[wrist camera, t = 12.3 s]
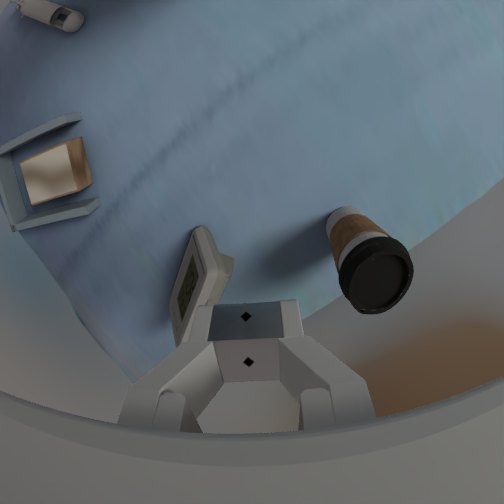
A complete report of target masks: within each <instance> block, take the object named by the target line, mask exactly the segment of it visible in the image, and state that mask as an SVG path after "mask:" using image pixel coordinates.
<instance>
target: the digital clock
mask: <svg viewBox="0 0 504 504" xmlns="http://www.w3.org/2000/svg"><path fill="white" fill-rule="evenodd" d="M233 263H234V259H233V258H232V257H229V256H227V255H224V254H221V253H219V252H218V249H217V247H216V244H215V241H214V239H213V236H212V234H211V232H210V231H209V230H208V229H207V228H206V227H205V226H199V227H198V228H196V229H194V230H193V232H192V235H191V238H190V241H189V243H188V246H187V249H186V252H185V255H184V258H183V261H182V264H181V267H180V270H179V273H178V276H177V279H176V282H175V285H174V288H173V291H172V294H171V298H170V301H169V310H170V316H171V322H172V328H173V334H174V339H175V344H176V348H177V347H178V346H179V345H180V344H182V343H183V342H188V340H189V336H190V332H191V328H192V324H193V320H194V316H195V312H196V308H197V307H198V306H199V305H215V304H218V303H219V300H220V298H221V296H222V294H223V292H224V289H225V287H226V285H227V283H228V281H229V279H230V276H231V274H232V271H233Z"/></svg>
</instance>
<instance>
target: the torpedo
mask: <svg viewBox="0 0 504 504" xmlns="http://www.w3.org/2000/svg"><path fill="white" fill-rule="evenodd" d="M10 3H15V2H12V1H11V2H10ZM16 4H18V5H17V6H16V9H18V8H20V7H21V9H18V10H20V12H21V13H22V16H21V18H23V17H24V16H28V17H31V18H33V19H36V20H38V21H40V22H43V23H45V24H48V25H50V26H54V27H57V28H59V29H61V30H64V31H65V32H75V31H77V30H78V29H79V28H80V27H81V25H82V24H83V22H84V16H83V15H82V14H81V13H80V12H77V11H75V10H72V9H69V8H67V7H65V6H62V5H59V4H56V3H53V2H50V1H46V0H20V1H19V2H16ZM60 13H62V14H64V15H67V16H68V17H67V19H66V20H65V22H64V21H61V20H59V19H57V17H58V16H59V14H60Z"/></svg>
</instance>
